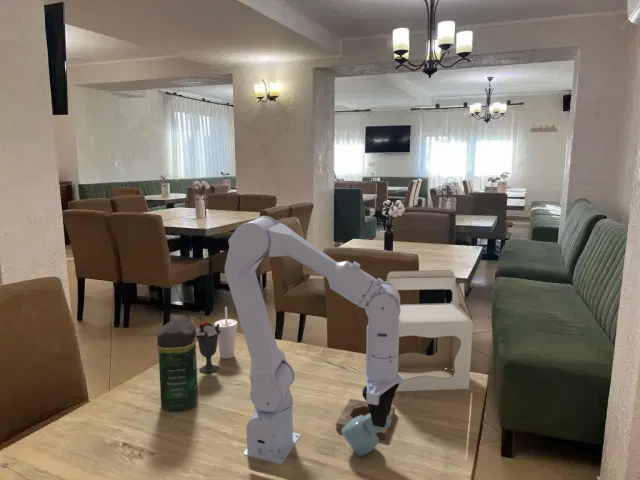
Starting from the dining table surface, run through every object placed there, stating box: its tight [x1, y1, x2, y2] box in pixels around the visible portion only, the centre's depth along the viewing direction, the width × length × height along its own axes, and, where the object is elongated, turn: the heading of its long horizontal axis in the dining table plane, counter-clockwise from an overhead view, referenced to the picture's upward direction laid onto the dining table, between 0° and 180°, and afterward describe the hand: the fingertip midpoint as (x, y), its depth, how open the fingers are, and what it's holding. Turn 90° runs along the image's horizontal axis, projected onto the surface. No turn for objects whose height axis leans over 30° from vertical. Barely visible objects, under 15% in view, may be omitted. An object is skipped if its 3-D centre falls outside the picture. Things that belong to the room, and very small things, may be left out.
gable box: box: [385, 269, 474, 392], centre depth 114 cm, size 22×13×28 cm, turn 94°
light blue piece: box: [340, 413, 393, 457], centre depth 86 cm, size 9×5×5 cm
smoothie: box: [213, 306, 239, 360], centre depth 128 cm, size 6×6×14 cm
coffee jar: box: [156, 319, 199, 412], centre depth 104 cm, size 10×8×19 cm
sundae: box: [195, 315, 221, 375], centre depth 120 cm, size 7×7×15 cm
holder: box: [335, 398, 396, 441], centre depth 97 cm, size 10×10×2 cm
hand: (380, 421), depth 85 cm, fingers closed on light blue piece, 2 cm apart
